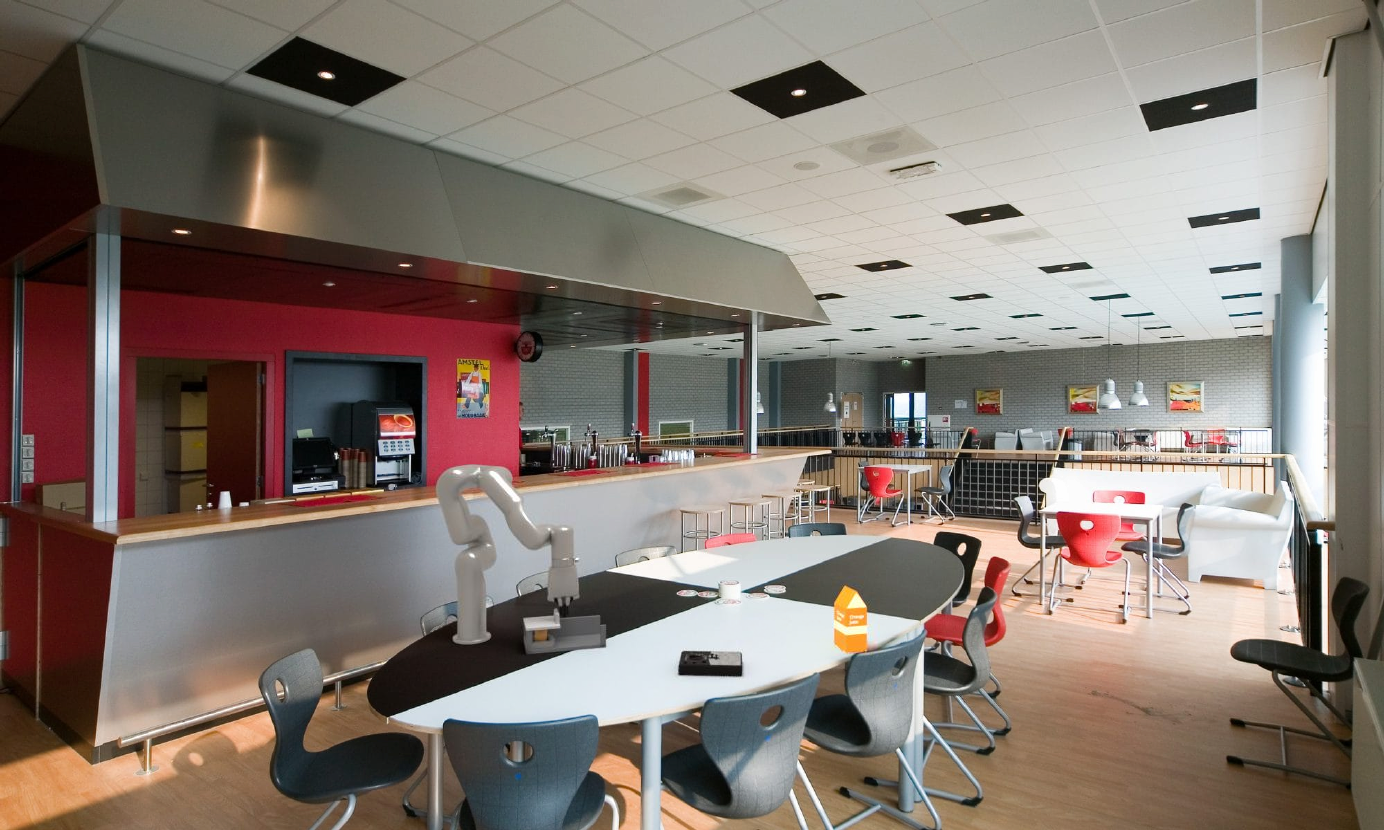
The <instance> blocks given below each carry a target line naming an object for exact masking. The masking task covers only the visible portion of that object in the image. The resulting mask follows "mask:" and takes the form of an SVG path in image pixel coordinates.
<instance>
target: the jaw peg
mask: <svg viewBox="0 0 1384 830" xmlns="http://www.w3.org/2000/svg"><path fill="white" fill-rule="evenodd" d="M537 641H547V629H544V630H535V642H537Z"/></svg>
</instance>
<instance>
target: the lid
mask: <svg viewBox="0 0 1384 830" xmlns="http://www.w3.org/2000/svg"><path fill="white" fill-rule="evenodd" d="M560 618H561V615H559V609H558V608H554V609H553V615H546V616H545V615H544V616H534V617H532V616H531V617H523V625H524V624H525V628H526V631H532V630H544V629H556V628H560Z"/></svg>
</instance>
